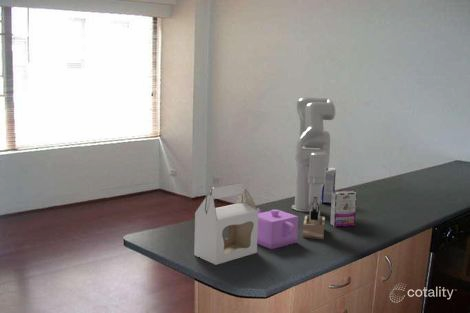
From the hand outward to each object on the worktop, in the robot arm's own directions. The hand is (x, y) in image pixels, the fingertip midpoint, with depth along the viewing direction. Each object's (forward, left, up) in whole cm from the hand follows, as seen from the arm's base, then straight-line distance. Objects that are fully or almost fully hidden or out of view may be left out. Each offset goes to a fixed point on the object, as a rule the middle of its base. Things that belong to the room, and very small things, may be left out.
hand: (314, 216), depth 233 cm
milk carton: (-59, +5, -8) cm, 59 cm away
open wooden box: (0, 0, -8) cm, 8 cm away
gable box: (+37, -33, -8) cm, 51 cm away
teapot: (+16, -17, -8) cm, 25 cm away
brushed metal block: (0, 0, -7) cm, 7 cm away
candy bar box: (-17, +13, -8) cm, 23 cm away
